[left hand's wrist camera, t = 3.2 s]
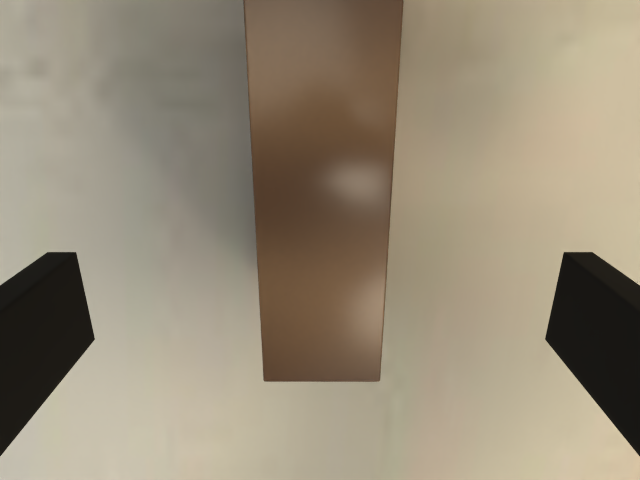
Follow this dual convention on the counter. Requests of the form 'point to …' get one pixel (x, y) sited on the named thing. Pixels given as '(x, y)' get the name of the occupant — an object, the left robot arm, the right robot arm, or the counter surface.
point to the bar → (322, 180)
